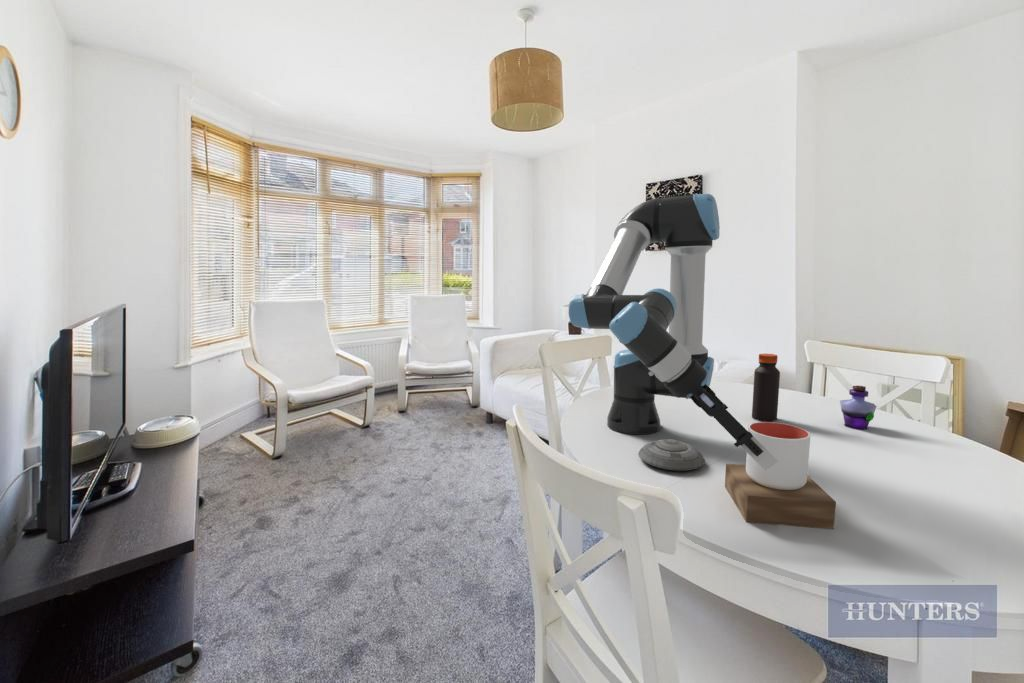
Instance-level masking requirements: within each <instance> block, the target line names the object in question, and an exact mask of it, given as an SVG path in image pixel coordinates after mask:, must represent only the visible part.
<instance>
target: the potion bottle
mask: <svg viewBox="0 0 1024 683" xmlns="http://www.w3.org/2000/svg"><path fill="white" fill-rule="evenodd" d="M848 392H849V393H848V394H849V395H850V396H851V399H849V398H848V399H842V400H839V404H840V410H841V412H842V416H843V421H844V423H843V426H844V427H846V428H848V429H849V428H850V429H852V430H861V431H864V430H868V426H869V425H870V424H869V423H870V422H872V421H873V419H874V418H875V415H874V414H875V411H876V410H877V406H876V404H875V403H873V402H870V401H866V400H865V398H866V397H867V398H868V397H869V391H868V390H867V389H866V386H865V385H852V388H850V389H849V391H848Z"/></svg>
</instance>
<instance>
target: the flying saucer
mask: <svg viewBox="0 0 1024 683" xmlns="http://www.w3.org/2000/svg"><path fill="white" fill-rule="evenodd" d="M638 456H639V458H640V460H642V461H643V462H644V463H646V464H648V465H649V466H653V467H655V468H659V469H663V470H668V471H677V472H678V471H679V472H681V471H692V470H697V469H699V468H701V467H702V466H704V465H705V463H706V459H705V457H704V455H703V454H702V453H701V452H700V451H699V450H698V449H697V448H696V447H695V446H692V445H691V444H689V443H687V442H684V441H680V440H678V439H673V438H668V439H667V438H666V439H664V438H663V439H657V440H653V441H651V442H648V443H645V445H643V446H642V447H641V448H640V450H639V451H638Z"/></svg>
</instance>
